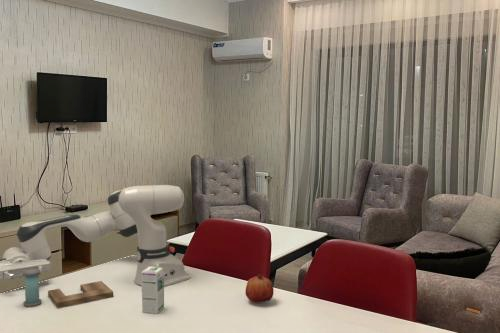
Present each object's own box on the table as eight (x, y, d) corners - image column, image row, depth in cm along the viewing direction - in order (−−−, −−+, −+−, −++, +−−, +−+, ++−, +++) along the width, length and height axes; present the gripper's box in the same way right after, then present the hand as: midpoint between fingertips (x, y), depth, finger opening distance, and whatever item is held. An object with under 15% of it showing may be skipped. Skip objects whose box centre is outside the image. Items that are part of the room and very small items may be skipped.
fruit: (279, 302, 170) (280, 275, 169) (261, 310, 162) (261, 282, 161) (257, 294, 177) (257, 268, 176) (239, 301, 169) (239, 274, 169)
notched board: (101, 285, 183) (101, 280, 183) (113, 296, 172) (113, 291, 172) (48, 296, 172) (47, 290, 172) (57, 308, 161) (57, 302, 161)
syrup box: (157, 314, 157) (157, 272, 156) (141, 312, 159) (141, 270, 157) (164, 307, 163) (164, 267, 162) (148, 306, 164) (148, 265, 163)
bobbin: (39, 299, 168) (38, 267, 167) (42, 304, 164) (41, 271, 163) (22, 303, 165) (21, 270, 164) (25, 308, 161) (24, 274, 159)
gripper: (47, 268, 191) (55, 278, 180) (-10, 277, 179) (-5, 288, 168) (46, 253, 191) (54, 262, 179) (-11, 261, 179) (-6, 271, 168)
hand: (25, 274), depth 174 cm, fingers open, 8 cm apart
